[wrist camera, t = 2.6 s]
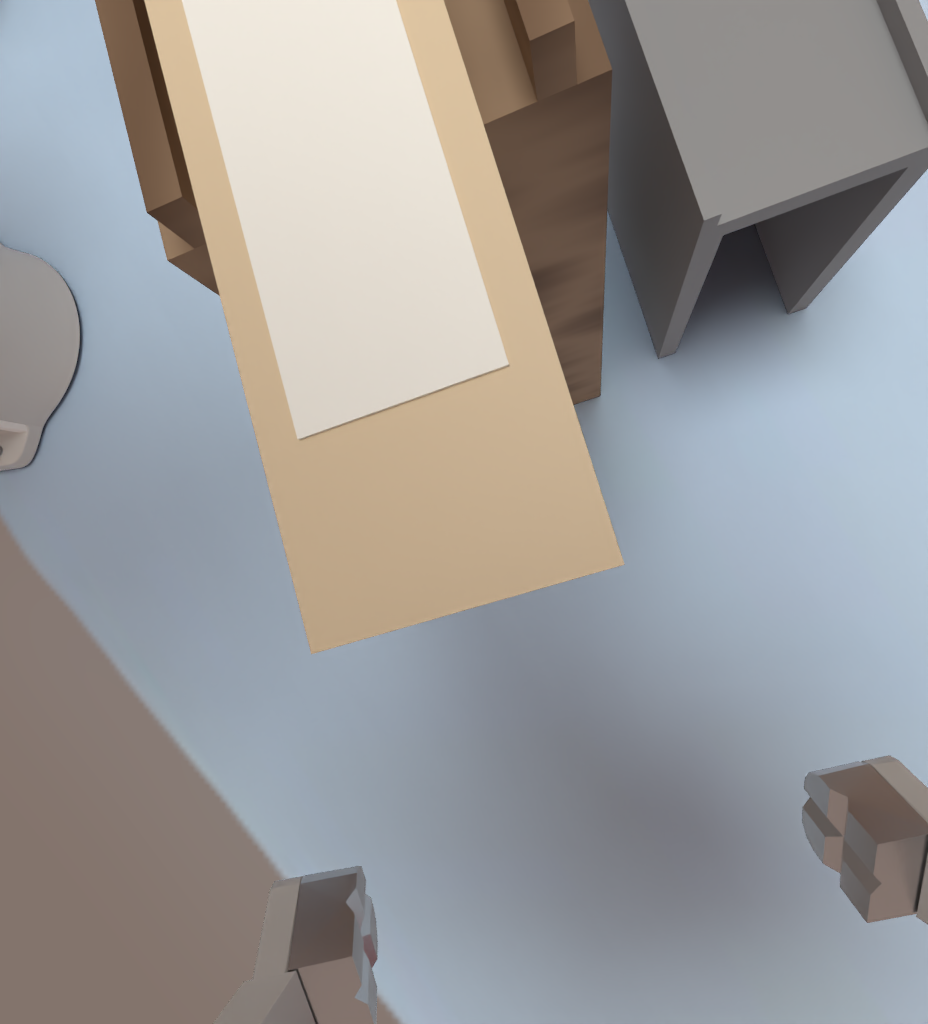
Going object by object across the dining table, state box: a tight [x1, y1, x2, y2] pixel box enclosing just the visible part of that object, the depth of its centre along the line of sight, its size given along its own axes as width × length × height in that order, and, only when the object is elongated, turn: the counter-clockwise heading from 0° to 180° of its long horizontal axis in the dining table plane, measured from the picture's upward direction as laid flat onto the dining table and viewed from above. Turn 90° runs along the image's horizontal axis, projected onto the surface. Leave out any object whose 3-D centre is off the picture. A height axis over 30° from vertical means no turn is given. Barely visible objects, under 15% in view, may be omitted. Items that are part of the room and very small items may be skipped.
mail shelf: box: [95, 0, 612, 405], centre depth 26 cm, size 10×12×28 cm
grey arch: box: [588, 0, 928, 359], centre depth 29 cm, size 8×16×16 cm, turn 17°
